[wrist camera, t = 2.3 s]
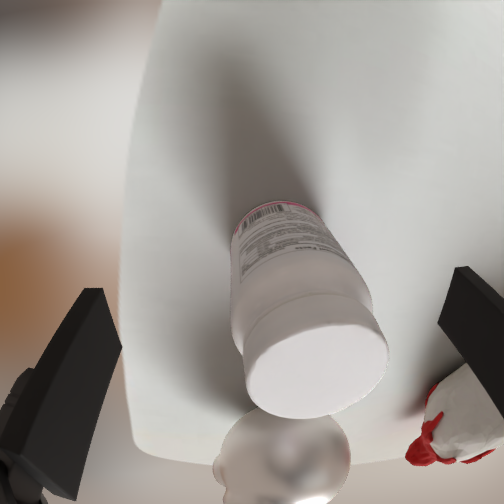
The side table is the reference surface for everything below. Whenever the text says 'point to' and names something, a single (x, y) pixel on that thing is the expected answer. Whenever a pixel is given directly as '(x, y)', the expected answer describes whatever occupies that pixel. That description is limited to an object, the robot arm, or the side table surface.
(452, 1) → the side table surface
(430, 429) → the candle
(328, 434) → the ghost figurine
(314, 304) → the pill bottle
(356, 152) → the side table surface
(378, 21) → the side table surface
